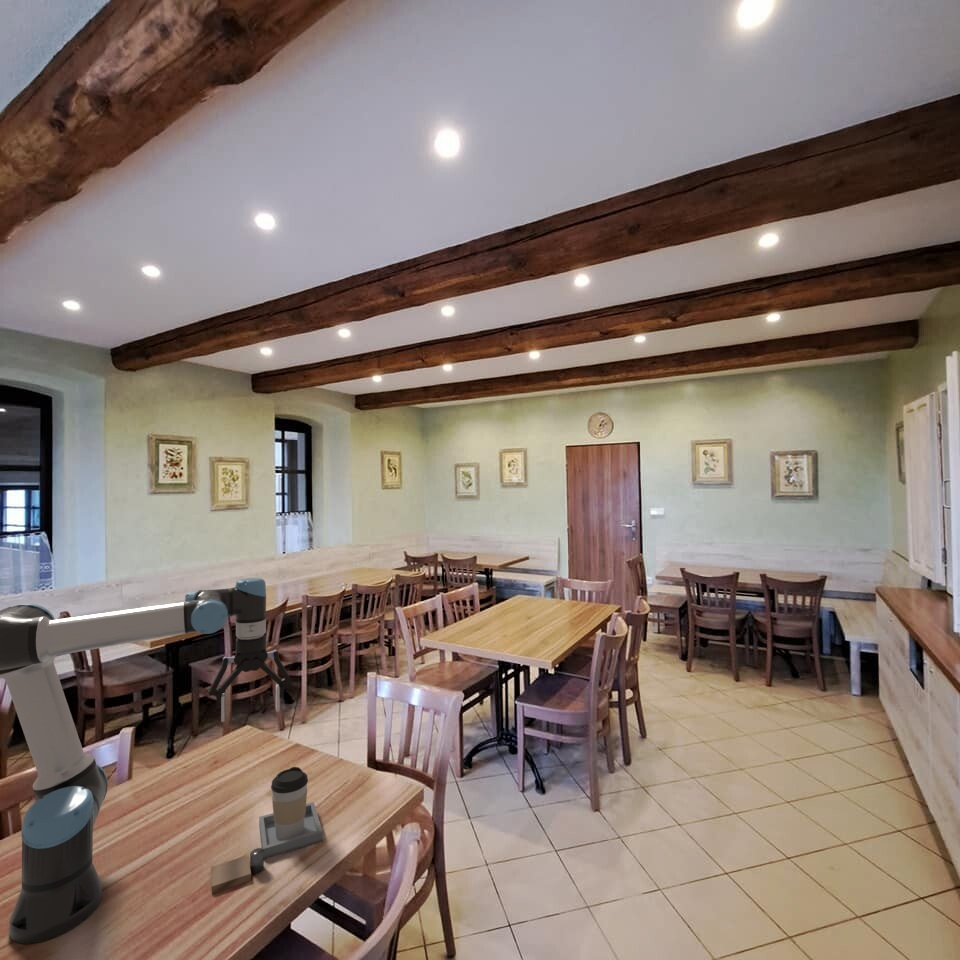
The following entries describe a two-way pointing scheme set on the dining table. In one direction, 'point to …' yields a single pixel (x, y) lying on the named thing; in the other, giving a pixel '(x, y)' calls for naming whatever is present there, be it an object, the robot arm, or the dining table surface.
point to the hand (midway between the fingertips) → (250, 714)
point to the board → (230, 873)
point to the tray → (277, 847)
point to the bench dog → (257, 861)
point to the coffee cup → (289, 802)
